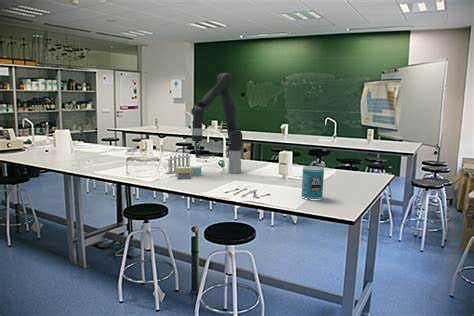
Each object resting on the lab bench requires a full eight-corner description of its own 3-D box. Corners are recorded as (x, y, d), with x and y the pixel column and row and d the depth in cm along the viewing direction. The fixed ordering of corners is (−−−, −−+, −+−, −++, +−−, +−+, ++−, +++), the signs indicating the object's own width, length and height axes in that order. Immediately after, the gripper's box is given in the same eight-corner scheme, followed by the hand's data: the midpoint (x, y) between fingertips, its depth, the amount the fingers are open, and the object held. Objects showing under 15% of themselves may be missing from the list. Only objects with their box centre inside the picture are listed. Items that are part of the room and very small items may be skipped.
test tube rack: (169, 174, 273) (169, 157, 271) (165, 173, 276) (165, 156, 273) (192, 169, 293) (192, 153, 291) (188, 168, 296) (188, 152, 294)
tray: (190, 176, 268) (190, 172, 268) (191, 179, 259) (191, 175, 259) (177, 176, 267) (177, 173, 266) (177, 179, 258) (177, 175, 257)
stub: (201, 174, 274) (201, 166, 273) (201, 176, 270) (201, 168, 269) (192, 174, 274) (192, 166, 273) (193, 176, 269) (193, 168, 268)
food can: (317, 202, 209) (318, 170, 206) (297, 198, 216) (299, 168, 213) (325, 197, 219) (327, 167, 216) (306, 194, 225) (308, 165, 222)
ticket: (192, 174, 274) (192, 166, 272) (192, 176, 269) (192, 167, 268) (175, 174, 272) (175, 166, 271) (175, 176, 267) (175, 168, 266)
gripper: (203, 135, 260) (202, 158, 263) (201, 133, 274) (201, 155, 277) (192, 135, 259) (192, 158, 262) (191, 133, 273) (191, 155, 276)
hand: (196, 156), depth 269 cm, fingers open, 8 cm apart
